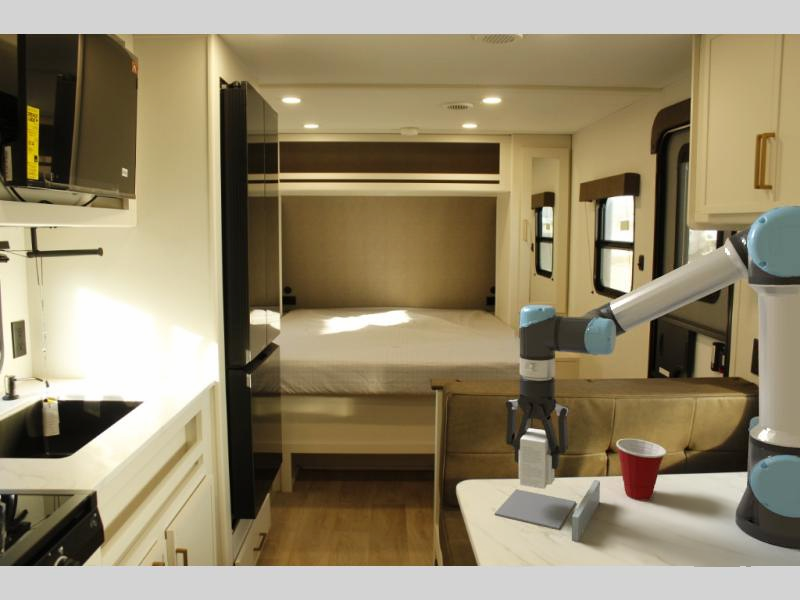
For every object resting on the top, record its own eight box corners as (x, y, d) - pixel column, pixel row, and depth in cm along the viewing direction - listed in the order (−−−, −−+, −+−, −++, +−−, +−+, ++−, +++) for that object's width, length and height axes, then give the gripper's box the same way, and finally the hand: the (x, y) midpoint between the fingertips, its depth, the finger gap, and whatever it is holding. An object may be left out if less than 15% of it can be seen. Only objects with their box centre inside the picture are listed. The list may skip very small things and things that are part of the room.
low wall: (599, 502, 135) (599, 480, 134) (577, 541, 118) (578, 517, 117) (594, 500, 135) (594, 479, 135) (571, 540, 118) (572, 516, 118)
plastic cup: (670, 507, 132) (671, 455, 130) (618, 503, 134) (620, 452, 132) (659, 487, 142) (660, 438, 141) (611, 484, 144) (612, 436, 143)
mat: (575, 503, 134) (575, 501, 134) (558, 529, 122) (558, 527, 122) (516, 490, 141) (516, 489, 141) (494, 514, 129) (494, 513, 129)
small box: (528, 472, 136) (528, 427, 135) (553, 475, 134) (553, 430, 132) (519, 485, 129) (519, 438, 128) (545, 489, 126) (545, 441, 125)
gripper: (489, 375, 130) (490, 477, 133) (576, 385, 121) (575, 494, 123) (502, 368, 137) (501, 465, 139) (585, 377, 127) (583, 481, 130)
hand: (536, 479), depth 131 cm, fingers closed on small box, 6 cm apart
